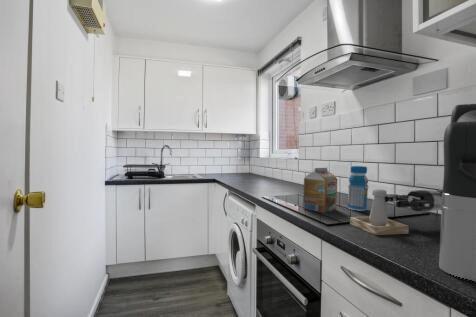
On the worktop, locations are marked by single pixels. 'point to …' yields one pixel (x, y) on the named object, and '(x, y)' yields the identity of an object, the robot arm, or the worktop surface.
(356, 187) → the beverage bottle
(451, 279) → the worktop surface
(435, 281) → the worktop surface
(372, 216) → the salt shaker
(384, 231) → the tray
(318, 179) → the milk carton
